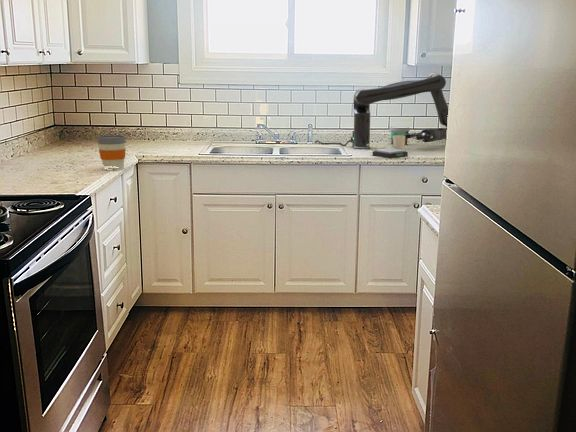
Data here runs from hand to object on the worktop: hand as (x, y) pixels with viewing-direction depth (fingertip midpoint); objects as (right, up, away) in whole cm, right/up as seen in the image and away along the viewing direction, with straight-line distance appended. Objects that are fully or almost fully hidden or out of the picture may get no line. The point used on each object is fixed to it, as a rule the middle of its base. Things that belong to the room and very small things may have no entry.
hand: (411, 137), depth 341 cm
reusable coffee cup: (-149, -22, -52) cm, 160 cm away
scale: (-14, -12, -16) cm, 25 cm away
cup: (-8, -9, -4) cm, 12 cm away
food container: (-2, -1, +29) cm, 30 cm away
